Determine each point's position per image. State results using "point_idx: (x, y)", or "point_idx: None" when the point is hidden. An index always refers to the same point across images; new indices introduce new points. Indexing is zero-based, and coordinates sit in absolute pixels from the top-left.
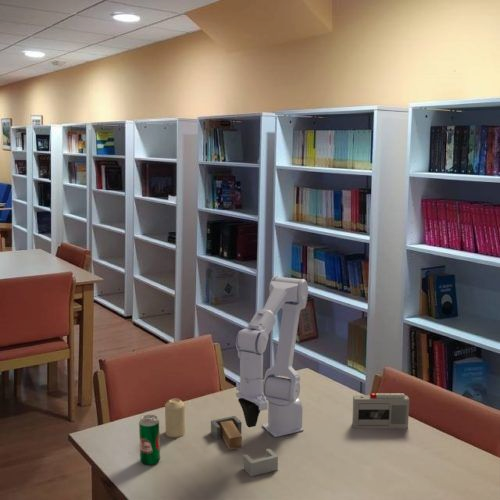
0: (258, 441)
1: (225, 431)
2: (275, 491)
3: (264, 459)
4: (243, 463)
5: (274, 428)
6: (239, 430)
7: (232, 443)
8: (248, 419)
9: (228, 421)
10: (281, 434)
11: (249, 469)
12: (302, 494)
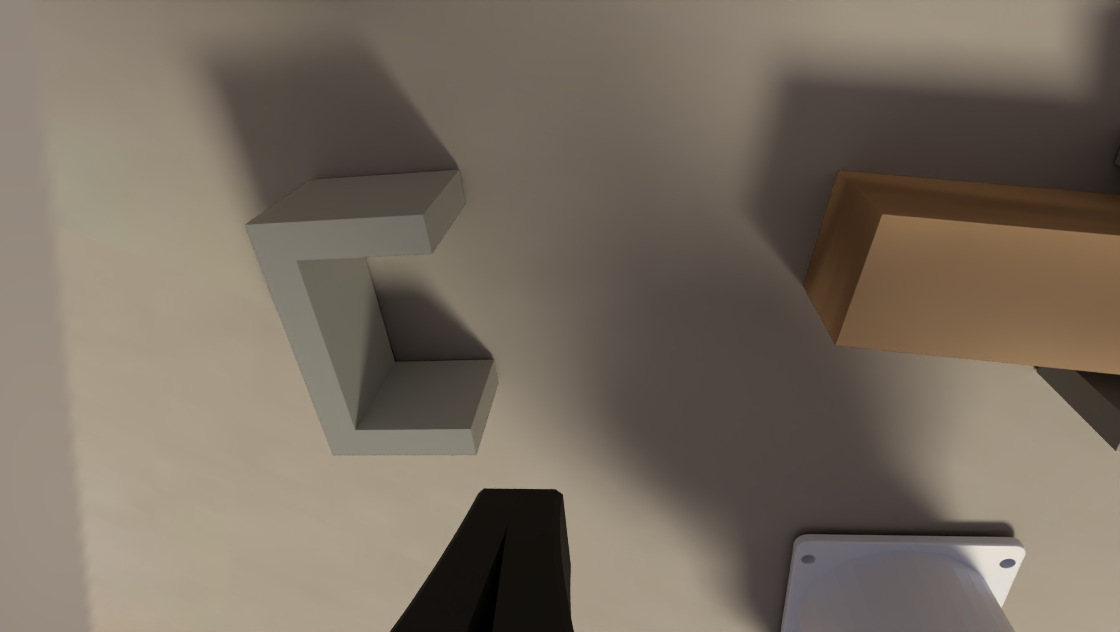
0: (818, 428)
1: (1073, 231)
2: (106, 265)
3: (304, 355)
4: (445, 184)
5: (861, 586)
6: (1064, 375)
7: (847, 223)
8: (404, 615)
9: None
10: (792, 577)
11: (319, 194)
12: (80, 389)
